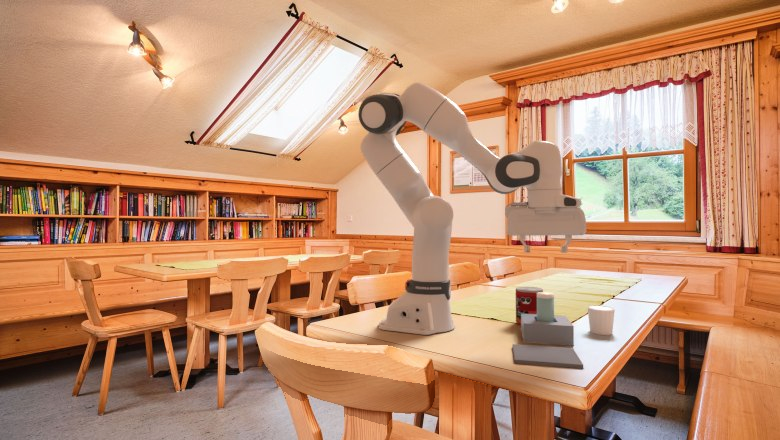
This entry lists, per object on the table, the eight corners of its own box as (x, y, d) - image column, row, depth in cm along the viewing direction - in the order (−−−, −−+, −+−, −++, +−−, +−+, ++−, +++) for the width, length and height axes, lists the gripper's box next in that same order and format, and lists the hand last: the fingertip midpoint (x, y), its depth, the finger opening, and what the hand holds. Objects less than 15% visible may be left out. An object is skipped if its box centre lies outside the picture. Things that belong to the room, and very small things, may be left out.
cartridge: (537, 339, 109) (537, 294, 109) (536, 335, 114) (535, 291, 114) (555, 340, 108) (555, 295, 108) (553, 336, 112) (552, 292, 113)
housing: (523, 342, 107) (523, 323, 107) (521, 330, 118) (520, 313, 118) (573, 345, 104) (573, 326, 104) (565, 333, 115) (565, 315, 115)
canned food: (511, 321, 129) (511, 286, 130) (536, 320, 130) (535, 286, 130) (522, 327, 122) (522, 290, 122) (547, 326, 123) (547, 290, 123)
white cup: (583, 329, 120) (583, 305, 120) (607, 329, 120) (607, 305, 120) (594, 335, 113) (594, 310, 113) (619, 335, 113) (619, 310, 113)
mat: (514, 363, 91) (514, 359, 91) (512, 347, 102) (512, 344, 102) (583, 368, 87) (583, 364, 87) (573, 351, 99) (572, 348, 99)
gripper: (505, 201, 111) (505, 253, 111) (587, 199, 106) (588, 253, 106) (504, 202, 117) (505, 251, 117) (582, 201, 112) (583, 251, 112)
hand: (545, 252), depth 111 cm, fingers open, 8 cm apart
